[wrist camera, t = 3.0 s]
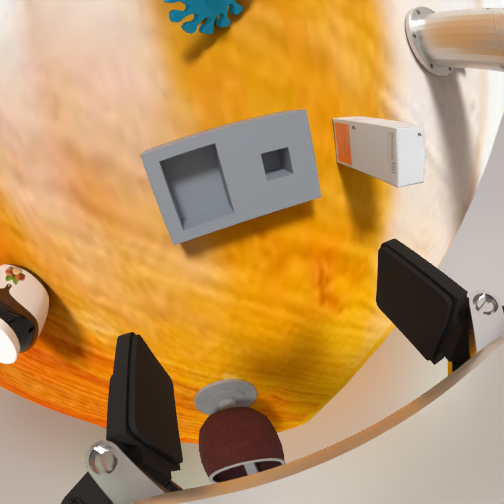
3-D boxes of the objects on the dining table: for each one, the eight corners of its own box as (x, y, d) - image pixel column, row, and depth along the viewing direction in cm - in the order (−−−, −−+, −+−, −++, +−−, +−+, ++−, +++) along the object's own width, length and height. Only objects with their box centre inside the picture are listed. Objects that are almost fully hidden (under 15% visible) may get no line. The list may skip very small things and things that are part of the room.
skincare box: (330, 118, 31) (396, 125, 21) (358, 115, 32) (425, 125, 21) (335, 164, 34) (397, 189, 24) (361, 159, 35) (425, 182, 24)
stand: (291, 110, 29) (306, 109, 26) (306, 188, 34) (321, 197, 31) (144, 151, 27) (140, 155, 24) (173, 231, 32) (173, 245, 29)
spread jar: (59, 285, 31) (32, 345, 21) (43, 335, 33) (23, 392, 23) (-6, 242, 25) (-49, 289, 15) (-15, 299, 28) (-45, 348, 18)
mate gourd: (177, 392, 46) (193, 491, 28) (246, 366, 47) (284, 466, 29) (211, 424, 53) (232, 502, 36) (270, 403, 54) (302, 481, 37)
